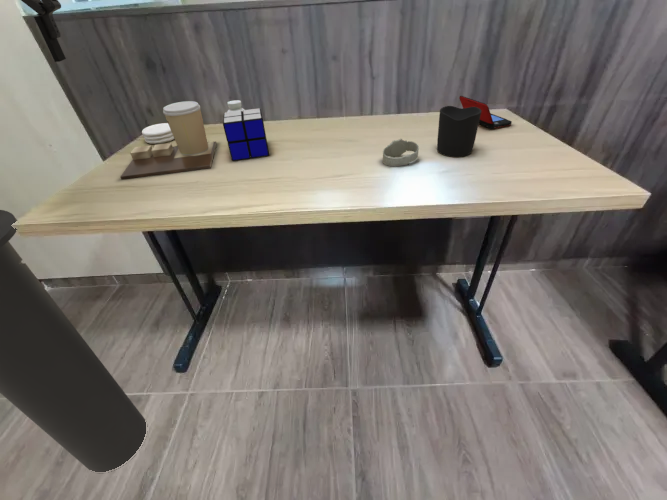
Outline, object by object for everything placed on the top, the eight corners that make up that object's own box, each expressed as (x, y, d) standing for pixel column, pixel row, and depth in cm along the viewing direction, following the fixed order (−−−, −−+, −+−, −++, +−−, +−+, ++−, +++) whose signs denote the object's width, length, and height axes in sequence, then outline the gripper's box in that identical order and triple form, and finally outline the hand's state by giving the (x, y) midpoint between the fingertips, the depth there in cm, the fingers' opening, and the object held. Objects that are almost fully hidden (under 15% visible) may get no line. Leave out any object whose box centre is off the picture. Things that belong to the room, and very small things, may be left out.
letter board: (121, 179, 88) (116, 169, 86) (140, 153, 102) (136, 143, 101) (210, 168, 90) (207, 157, 89) (216, 143, 105) (214, 134, 103)
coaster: (147, 136, 114) (142, 125, 112) (179, 131, 116) (175, 120, 114) (143, 146, 106) (139, 135, 104) (178, 141, 109) (174, 129, 106)
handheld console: (513, 125, 101) (519, 98, 97) (481, 132, 99) (486, 104, 94) (484, 114, 111) (488, 89, 106) (454, 120, 108) (458, 94, 104)
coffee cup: (190, 143, 104) (176, 100, 96) (217, 144, 101) (206, 101, 94) (170, 155, 97) (154, 110, 89) (199, 157, 94) (185, 111, 87)
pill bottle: (249, 136, 108) (242, 103, 102) (231, 138, 108) (223, 105, 102) (250, 130, 112) (243, 98, 107) (233, 132, 112) (225, 100, 106)
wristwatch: (411, 153, 90) (413, 134, 87) (423, 163, 85) (425, 142, 82) (378, 159, 88) (378, 140, 85) (388, 169, 83) (388, 149, 80)
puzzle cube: (231, 161, 93) (222, 123, 87) (231, 148, 101) (223, 112, 95) (269, 155, 94) (262, 118, 88) (266, 143, 102) (260, 107, 96)
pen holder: (455, 141, 95) (461, 102, 89) (482, 152, 88) (490, 111, 82) (427, 149, 91) (431, 109, 85) (453, 161, 85) (459, 119, 79)
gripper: (-211, -116, 43) (-79, 73, 56) (11, -119, 46) (87, 61, 59) (-156, -104, 49) (-48, 64, 62) (38, -108, 52) (102, 54, 65)
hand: (18, 63), depth 61 cm, fingers open, 13 cm apart
